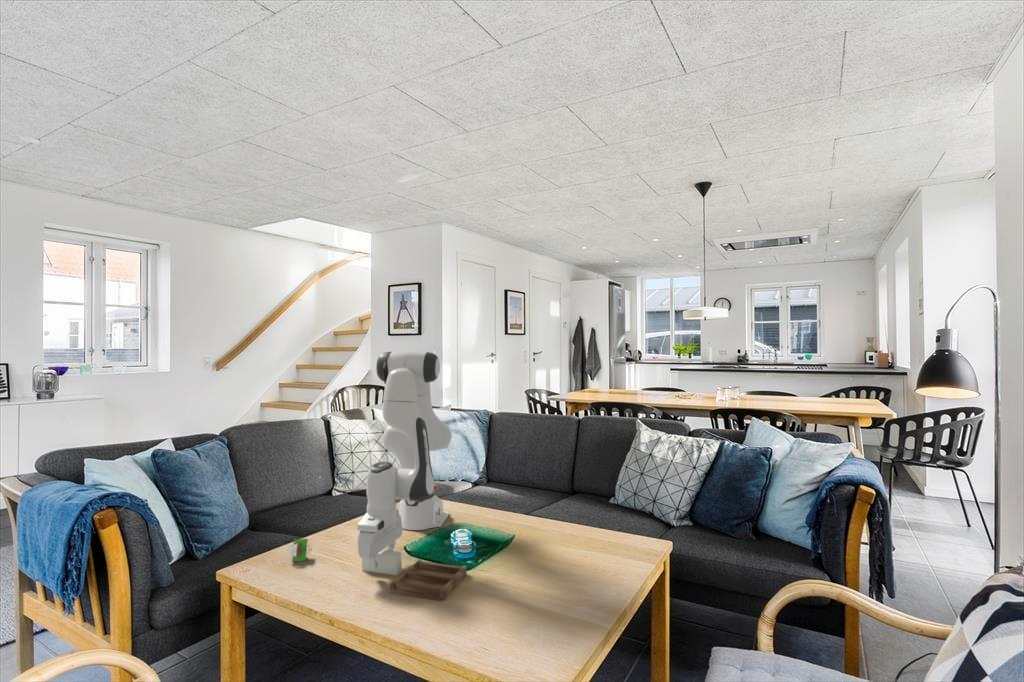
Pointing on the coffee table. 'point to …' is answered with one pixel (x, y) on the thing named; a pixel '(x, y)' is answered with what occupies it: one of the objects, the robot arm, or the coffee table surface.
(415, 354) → the robot arm
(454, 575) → the brown wooden flat frame
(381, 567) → the white rectangular block
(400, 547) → the coffee table surface
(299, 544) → the geometric puzzle
